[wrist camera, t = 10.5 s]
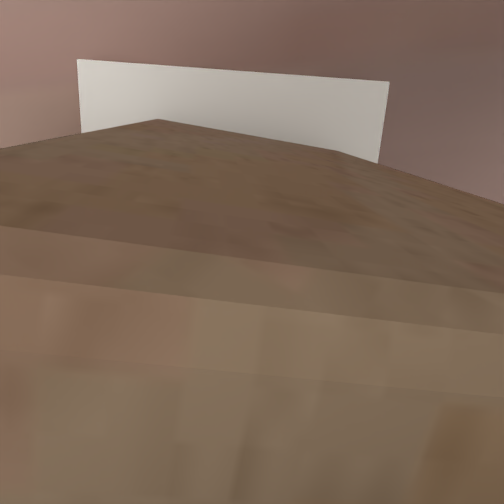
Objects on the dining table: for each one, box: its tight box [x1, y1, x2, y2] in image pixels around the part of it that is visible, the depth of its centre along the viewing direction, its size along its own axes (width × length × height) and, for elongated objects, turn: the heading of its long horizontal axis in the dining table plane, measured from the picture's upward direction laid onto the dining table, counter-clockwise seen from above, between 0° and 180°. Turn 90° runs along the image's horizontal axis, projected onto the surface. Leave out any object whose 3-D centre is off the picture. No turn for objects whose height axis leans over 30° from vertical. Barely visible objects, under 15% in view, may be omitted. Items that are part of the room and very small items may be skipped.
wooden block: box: [0, 119, 504, 504], centre depth 13 cm, size 10×10×20 cm
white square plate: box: [77, 59, 390, 164], centre depth 26 cm, size 16×16×3 cm
